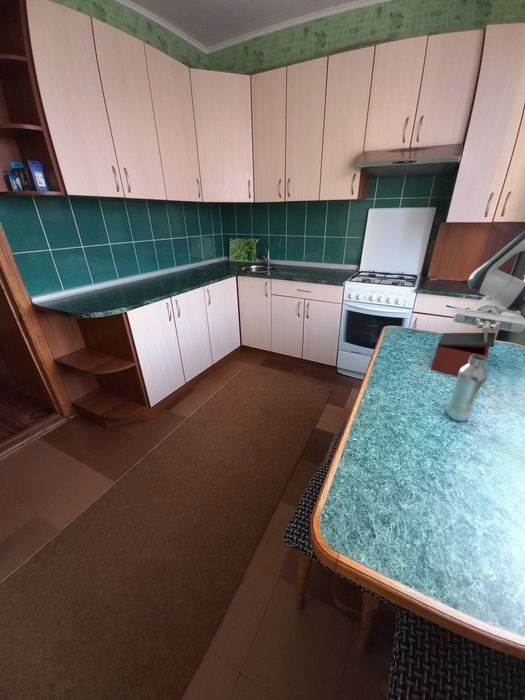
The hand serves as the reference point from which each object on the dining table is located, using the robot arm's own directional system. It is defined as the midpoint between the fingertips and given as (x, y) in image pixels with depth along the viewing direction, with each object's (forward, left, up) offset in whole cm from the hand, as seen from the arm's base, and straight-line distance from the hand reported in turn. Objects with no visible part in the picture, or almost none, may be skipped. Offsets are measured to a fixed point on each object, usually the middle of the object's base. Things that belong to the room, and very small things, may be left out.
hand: (486, 327), depth 98 cm
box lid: (+4, +1, -6) cm, 8 cm away
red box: (+4, +1, -18) cm, 19 cm away
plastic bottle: (-13, +27, -19) cm, 35 cm away
